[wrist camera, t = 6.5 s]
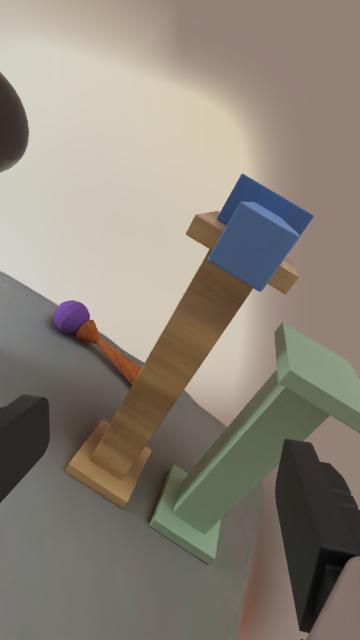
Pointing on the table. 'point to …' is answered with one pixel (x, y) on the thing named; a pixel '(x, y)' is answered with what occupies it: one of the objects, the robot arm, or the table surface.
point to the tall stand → (167, 370)
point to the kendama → (91, 335)
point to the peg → (256, 232)
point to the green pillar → (257, 440)
